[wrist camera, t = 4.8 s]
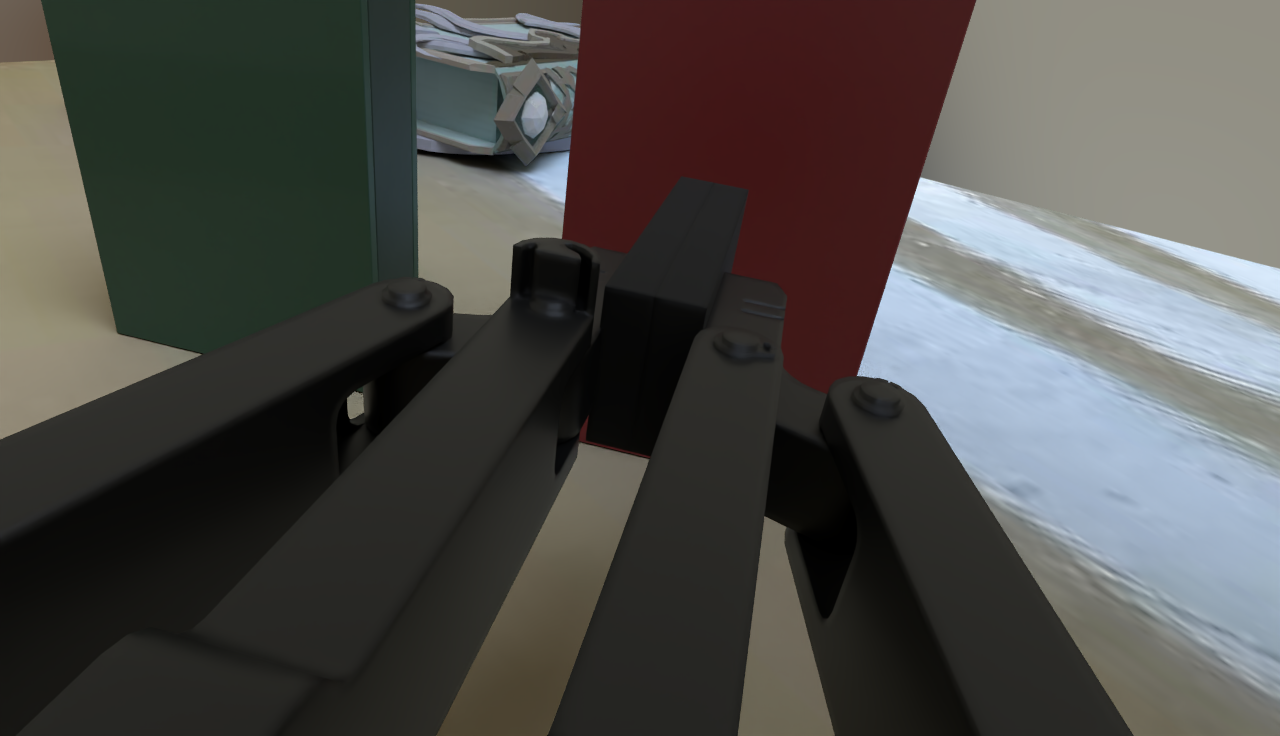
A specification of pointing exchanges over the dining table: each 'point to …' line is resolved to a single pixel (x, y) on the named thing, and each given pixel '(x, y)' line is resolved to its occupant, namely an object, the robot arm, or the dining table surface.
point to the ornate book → (494, 84)
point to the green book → (241, 155)
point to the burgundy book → (768, 141)
